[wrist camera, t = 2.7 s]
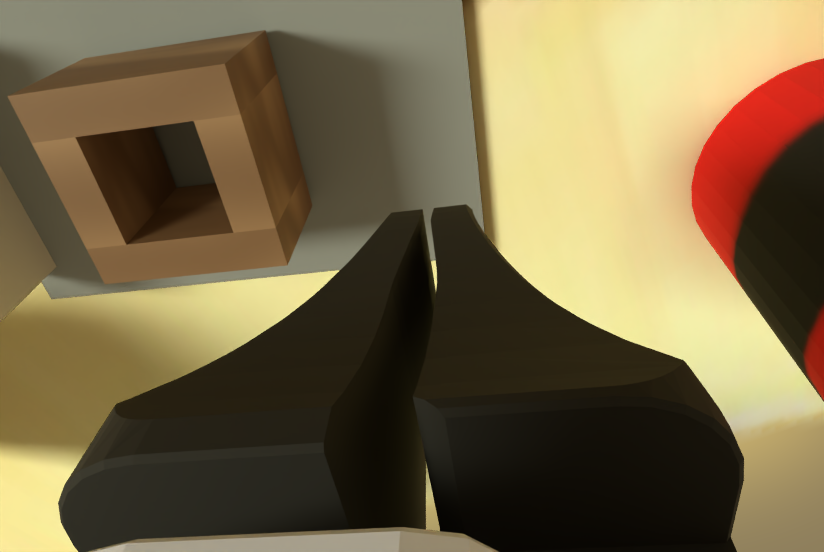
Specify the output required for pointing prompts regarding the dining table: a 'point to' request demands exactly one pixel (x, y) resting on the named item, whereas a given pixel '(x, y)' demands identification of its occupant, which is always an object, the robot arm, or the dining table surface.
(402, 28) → the mat with wall
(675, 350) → the dining table surface
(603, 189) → the dining table surface
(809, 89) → the soda can
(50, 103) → the block
